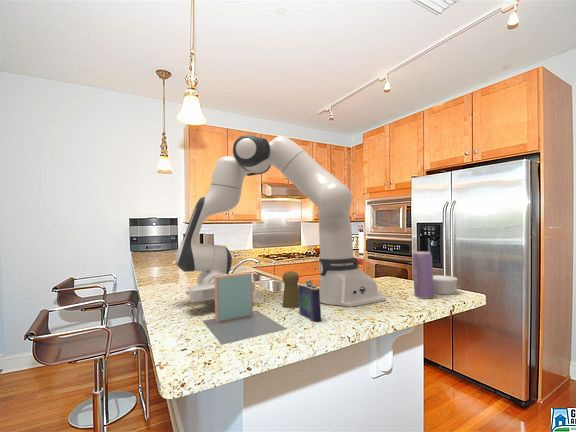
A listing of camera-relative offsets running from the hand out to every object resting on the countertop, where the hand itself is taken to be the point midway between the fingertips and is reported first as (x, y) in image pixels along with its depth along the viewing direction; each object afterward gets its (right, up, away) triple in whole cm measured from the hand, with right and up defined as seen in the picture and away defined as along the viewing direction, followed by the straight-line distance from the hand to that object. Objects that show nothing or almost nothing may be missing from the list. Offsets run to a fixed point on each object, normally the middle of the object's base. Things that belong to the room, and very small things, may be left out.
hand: (230, 294), depth 81 cm
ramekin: (+71, -5, +20) cm, 74 cm away
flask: (+23, -6, -5) cm, 24 cm away
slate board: (+5, -6, -9) cm, 12 cm away
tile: (+2, -6, -4) cm, 7 cm away
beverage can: (+63, -5, +14) cm, 64 cm away
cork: (+18, -6, +7) cm, 20 cm away
